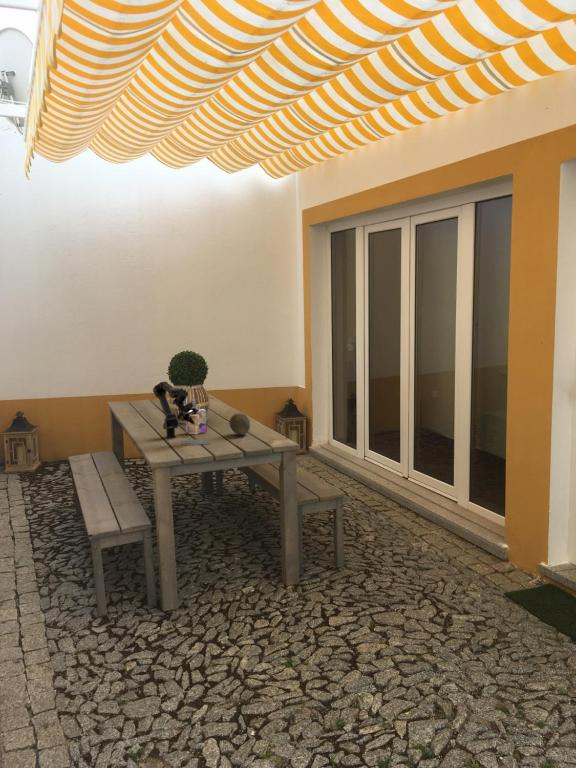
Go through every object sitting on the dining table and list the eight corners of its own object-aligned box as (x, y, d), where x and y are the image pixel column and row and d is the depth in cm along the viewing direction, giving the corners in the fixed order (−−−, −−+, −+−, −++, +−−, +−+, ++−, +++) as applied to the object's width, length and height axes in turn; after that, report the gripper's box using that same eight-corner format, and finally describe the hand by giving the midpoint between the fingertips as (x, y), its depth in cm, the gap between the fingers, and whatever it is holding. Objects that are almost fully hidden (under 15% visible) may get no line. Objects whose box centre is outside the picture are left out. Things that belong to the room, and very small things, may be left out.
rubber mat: (181, 441, 429) (181, 440, 429) (208, 439, 432) (208, 438, 432) (182, 445, 415) (182, 445, 415) (210, 444, 419) (210, 443, 419)
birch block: (193, 432, 426) (192, 414, 424) (199, 432, 424) (198, 414, 422) (190, 433, 422) (189, 415, 420) (196, 434, 420) (195, 416, 418)
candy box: (187, 434, 447) (186, 411, 445) (185, 433, 452) (184, 410, 450) (207, 432, 452) (206, 409, 450) (205, 431, 457) (204, 408, 455)
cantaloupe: (250, 432, 451) (249, 411, 448) (250, 436, 437) (249, 415, 435) (230, 433, 450) (229, 412, 448) (229, 437, 436) (228, 416, 434)
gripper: (179, 399, 413) (194, 417, 409) (196, 394, 429) (211, 412, 426) (170, 410, 417) (185, 428, 414) (187, 405, 434) (201, 423, 431)
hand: (196, 422), depth 421 cm, fingers closed on birch block, 5 cm apart
